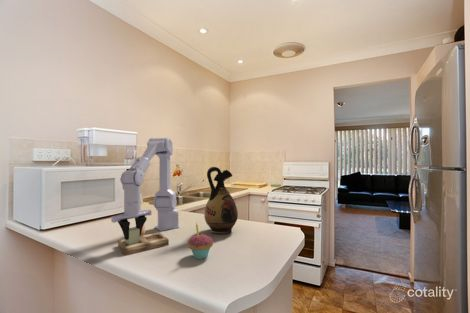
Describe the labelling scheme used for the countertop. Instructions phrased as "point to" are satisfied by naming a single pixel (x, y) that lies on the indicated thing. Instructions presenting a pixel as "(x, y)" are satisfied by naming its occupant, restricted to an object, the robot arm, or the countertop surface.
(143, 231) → the terracotta dowel
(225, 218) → the ceramic jug
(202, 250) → the cupcake
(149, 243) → the pocket board
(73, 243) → the countertop surface
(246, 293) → the countertop surface
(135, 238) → the sage cube
